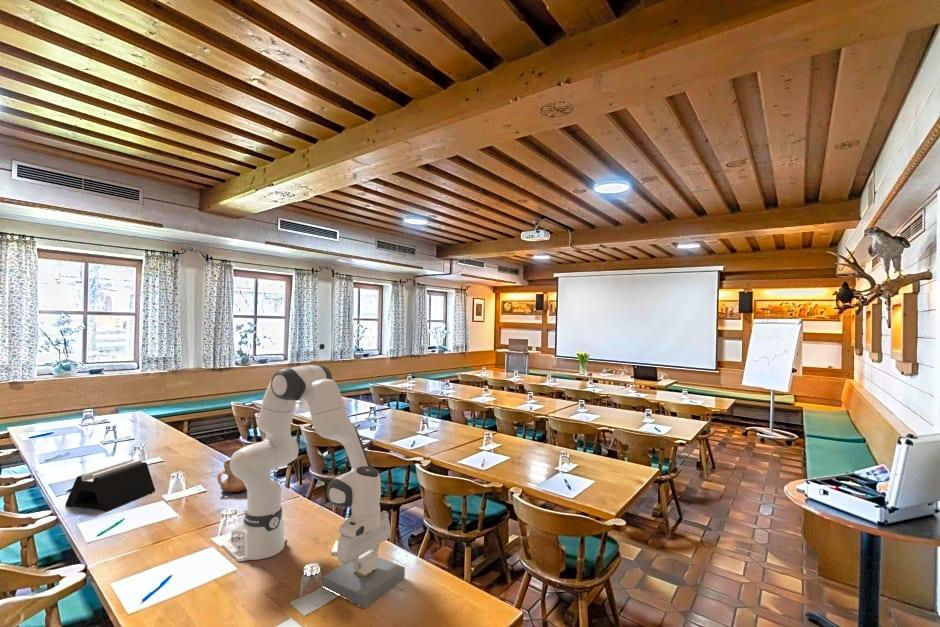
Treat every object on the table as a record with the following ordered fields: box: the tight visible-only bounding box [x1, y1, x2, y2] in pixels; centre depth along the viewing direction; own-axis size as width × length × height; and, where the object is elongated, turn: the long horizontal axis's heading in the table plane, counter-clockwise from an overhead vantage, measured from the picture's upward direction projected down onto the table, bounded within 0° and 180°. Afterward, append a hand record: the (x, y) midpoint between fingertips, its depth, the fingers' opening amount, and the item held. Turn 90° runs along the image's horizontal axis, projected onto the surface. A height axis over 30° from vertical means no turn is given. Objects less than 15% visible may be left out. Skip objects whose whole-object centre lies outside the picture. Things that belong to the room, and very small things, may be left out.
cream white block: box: [352, 549, 379, 578], centre depth 138 cm, size 6×6×8 cm
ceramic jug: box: [216, 458, 247, 494], centre depth 212 cm, size 18×14×14 cm
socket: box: [321, 556, 406, 609], centre depth 138 cm, size 18×18×4 cm
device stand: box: [64, 458, 156, 512], centre depth 198 cm, size 22×22×15 cm
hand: (364, 564), depth 138 cm, fingers closed on cream white block, 5 cm apart
